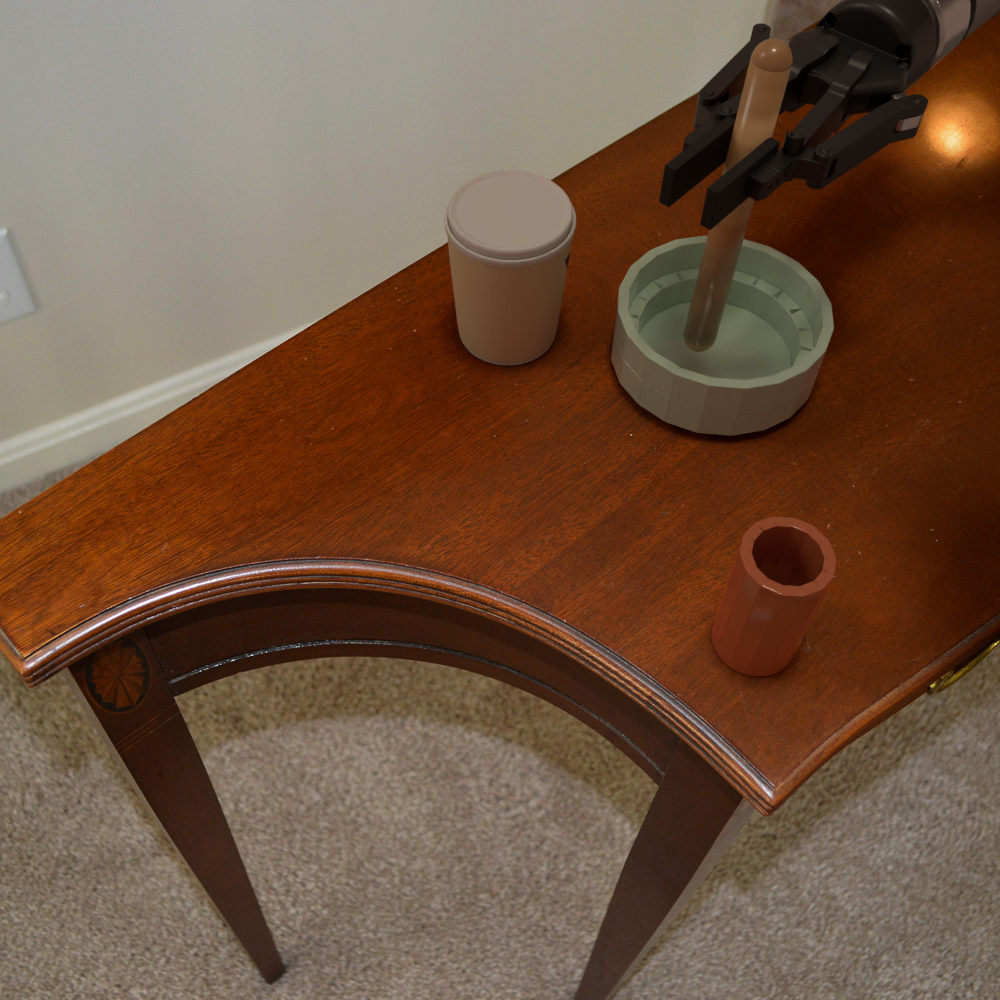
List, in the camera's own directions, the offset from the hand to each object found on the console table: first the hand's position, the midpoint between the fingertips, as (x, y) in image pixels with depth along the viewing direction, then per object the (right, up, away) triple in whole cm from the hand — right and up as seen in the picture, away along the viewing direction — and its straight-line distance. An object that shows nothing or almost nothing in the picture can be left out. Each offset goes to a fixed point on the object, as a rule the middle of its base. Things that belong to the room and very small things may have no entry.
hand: (688, 197), depth 65 cm
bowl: (+5, -7, +20) cm, 22 cm away
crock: (+5, -27, +6) cm, 28 cm away
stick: (+3, -7, +16) cm, 18 cm away
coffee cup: (-11, -5, +22) cm, 25 cm away
